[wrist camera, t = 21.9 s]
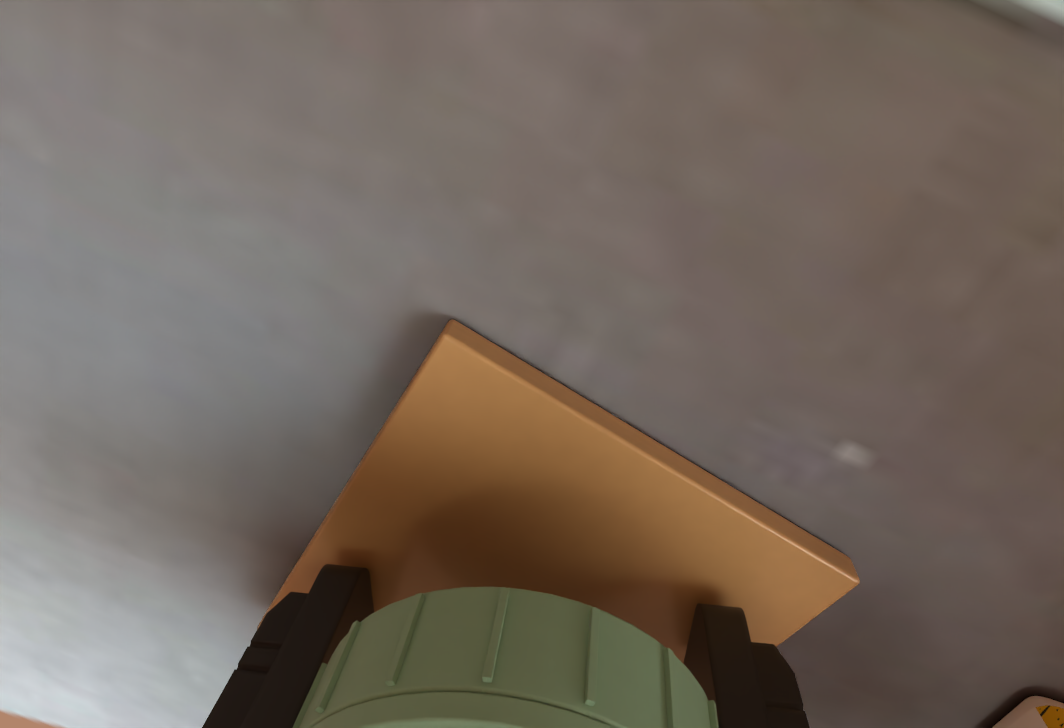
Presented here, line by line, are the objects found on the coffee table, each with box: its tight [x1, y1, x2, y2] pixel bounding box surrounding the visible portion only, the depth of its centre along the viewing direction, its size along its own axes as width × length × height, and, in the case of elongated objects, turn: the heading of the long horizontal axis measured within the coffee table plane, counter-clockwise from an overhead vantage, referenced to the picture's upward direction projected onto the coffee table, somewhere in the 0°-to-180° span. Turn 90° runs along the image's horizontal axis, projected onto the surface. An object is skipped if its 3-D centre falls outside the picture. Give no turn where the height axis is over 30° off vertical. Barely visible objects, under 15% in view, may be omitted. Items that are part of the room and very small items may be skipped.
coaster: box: [257, 319, 860, 664], centre depth 12 cm, size 8×8×1 cm
